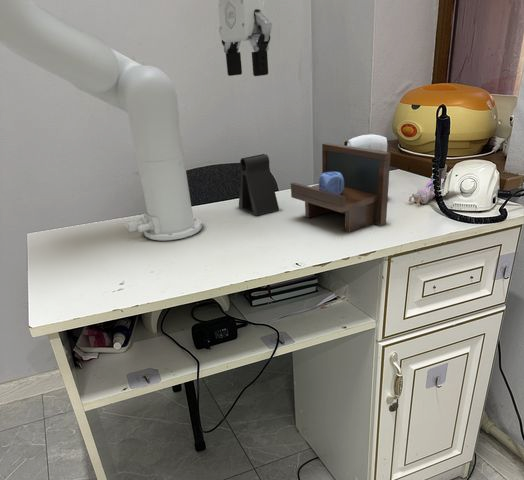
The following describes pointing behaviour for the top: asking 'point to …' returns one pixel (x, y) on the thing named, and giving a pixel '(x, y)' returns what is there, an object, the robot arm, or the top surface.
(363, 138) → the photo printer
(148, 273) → the top surface
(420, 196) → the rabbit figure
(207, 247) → the top surface
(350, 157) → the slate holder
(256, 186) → the phone stand
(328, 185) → the decorative dice
